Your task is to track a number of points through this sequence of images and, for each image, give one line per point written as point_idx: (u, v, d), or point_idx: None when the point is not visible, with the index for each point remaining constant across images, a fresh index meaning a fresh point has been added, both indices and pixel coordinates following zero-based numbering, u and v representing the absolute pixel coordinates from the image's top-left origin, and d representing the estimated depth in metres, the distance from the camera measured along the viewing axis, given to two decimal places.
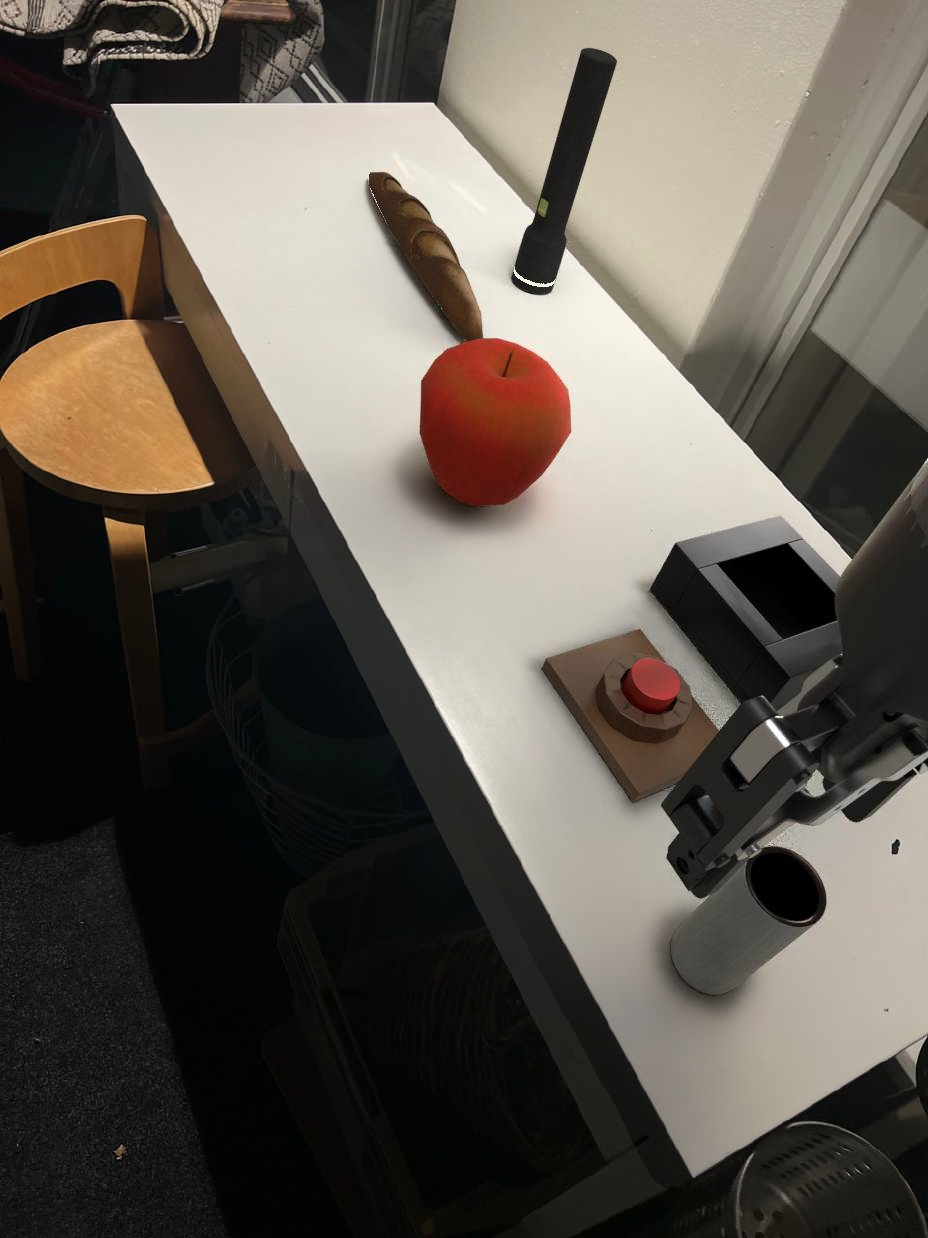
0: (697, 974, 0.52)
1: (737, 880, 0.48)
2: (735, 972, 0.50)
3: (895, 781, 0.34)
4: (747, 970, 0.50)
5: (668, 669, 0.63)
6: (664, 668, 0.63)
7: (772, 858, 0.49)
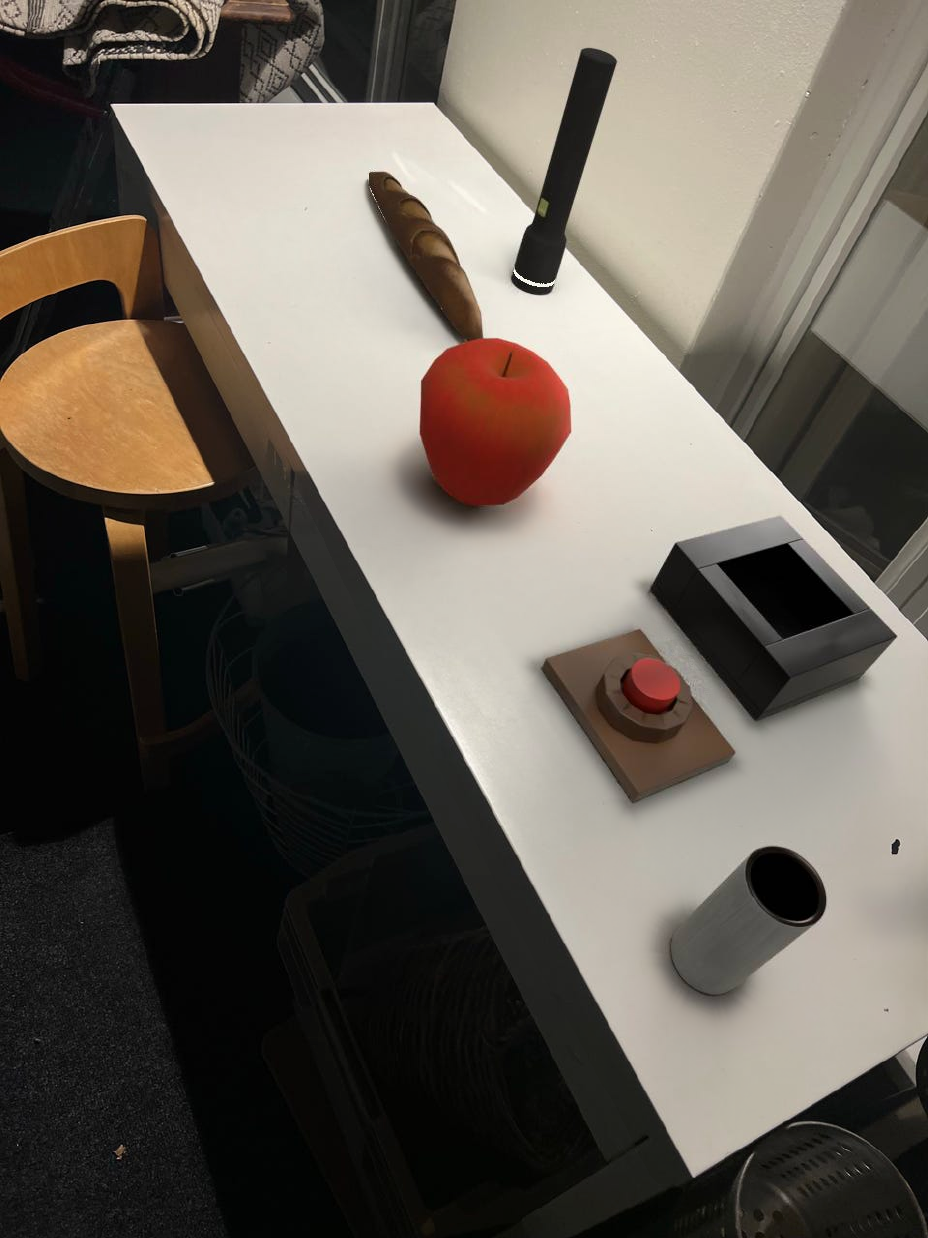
0: (697, 974, 0.52)
1: (737, 880, 0.48)
2: (735, 972, 0.50)
3: None
4: (747, 970, 0.50)
5: (668, 669, 0.63)
6: (664, 668, 0.63)
7: (772, 858, 0.49)
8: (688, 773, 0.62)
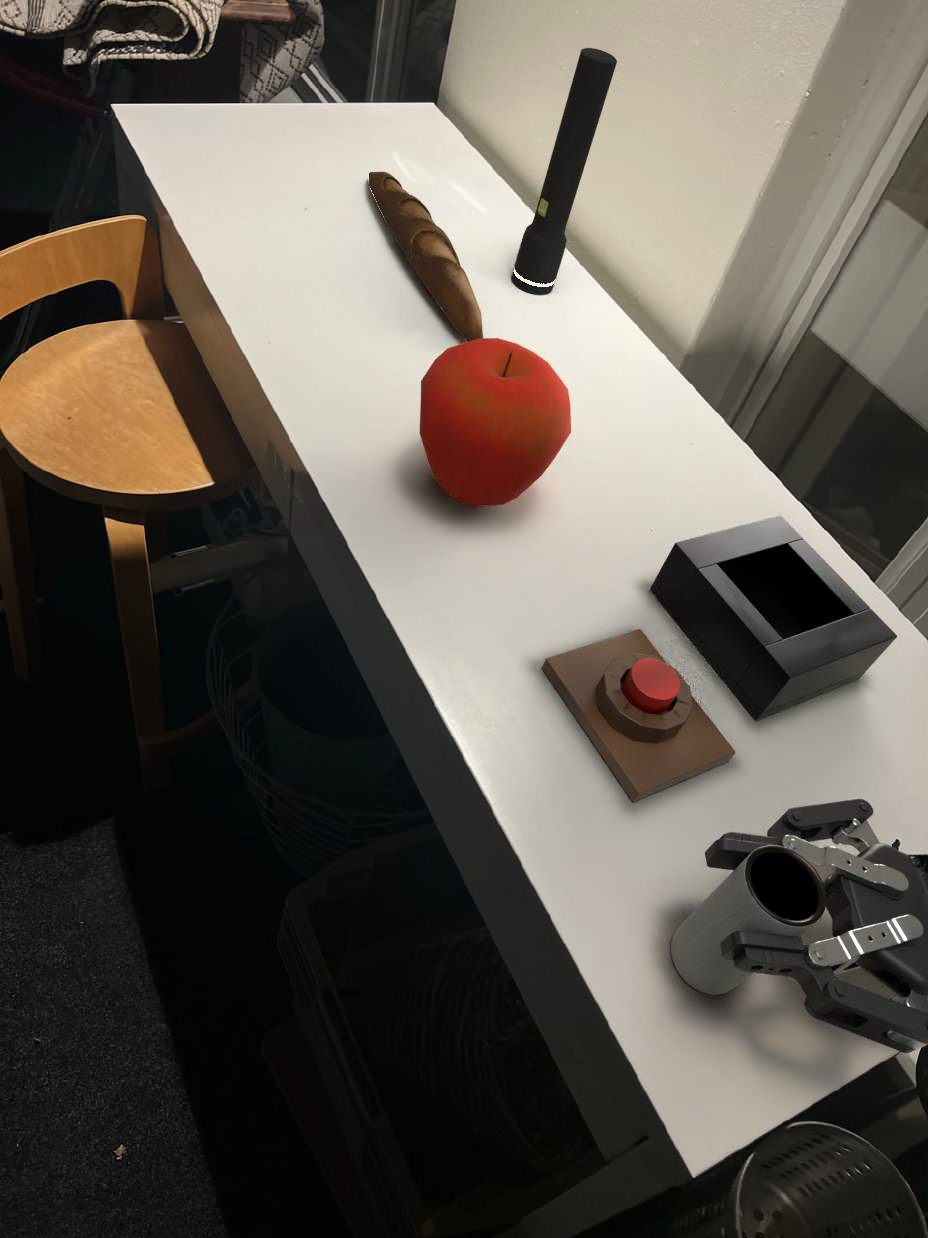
0: (697, 974, 0.52)
1: (737, 880, 0.48)
2: (735, 972, 0.50)
3: None
4: None
5: (668, 669, 0.63)
6: (664, 668, 0.63)
7: (772, 858, 0.49)
8: (688, 773, 0.62)
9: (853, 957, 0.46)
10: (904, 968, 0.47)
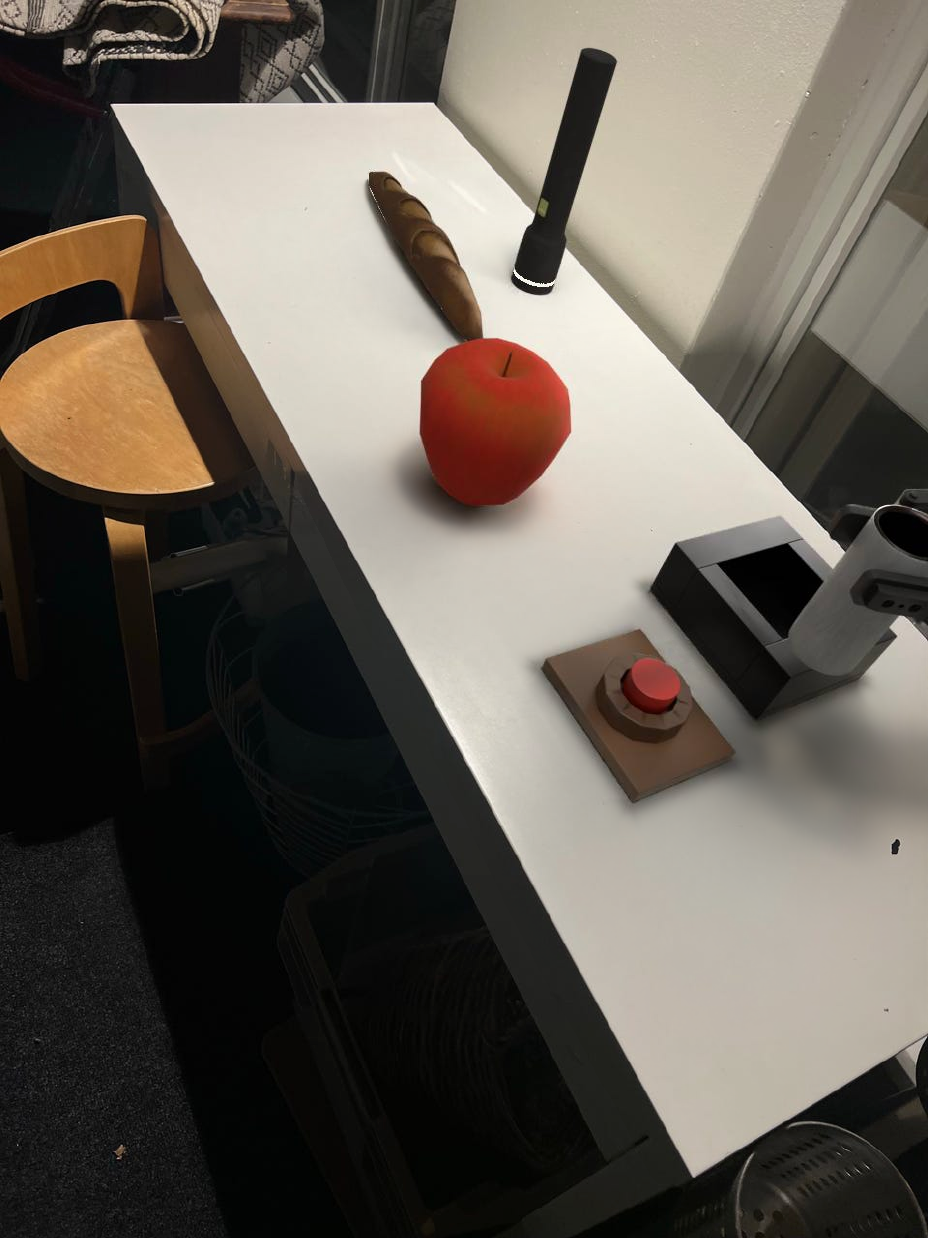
0: (818, 650, 0.55)
1: (865, 532, 0.50)
2: (858, 637, 0.53)
3: None
4: (870, 633, 0.53)
5: (668, 669, 0.63)
6: (664, 668, 0.63)
7: (896, 519, 0.51)
8: (688, 773, 0.62)
9: None
10: None
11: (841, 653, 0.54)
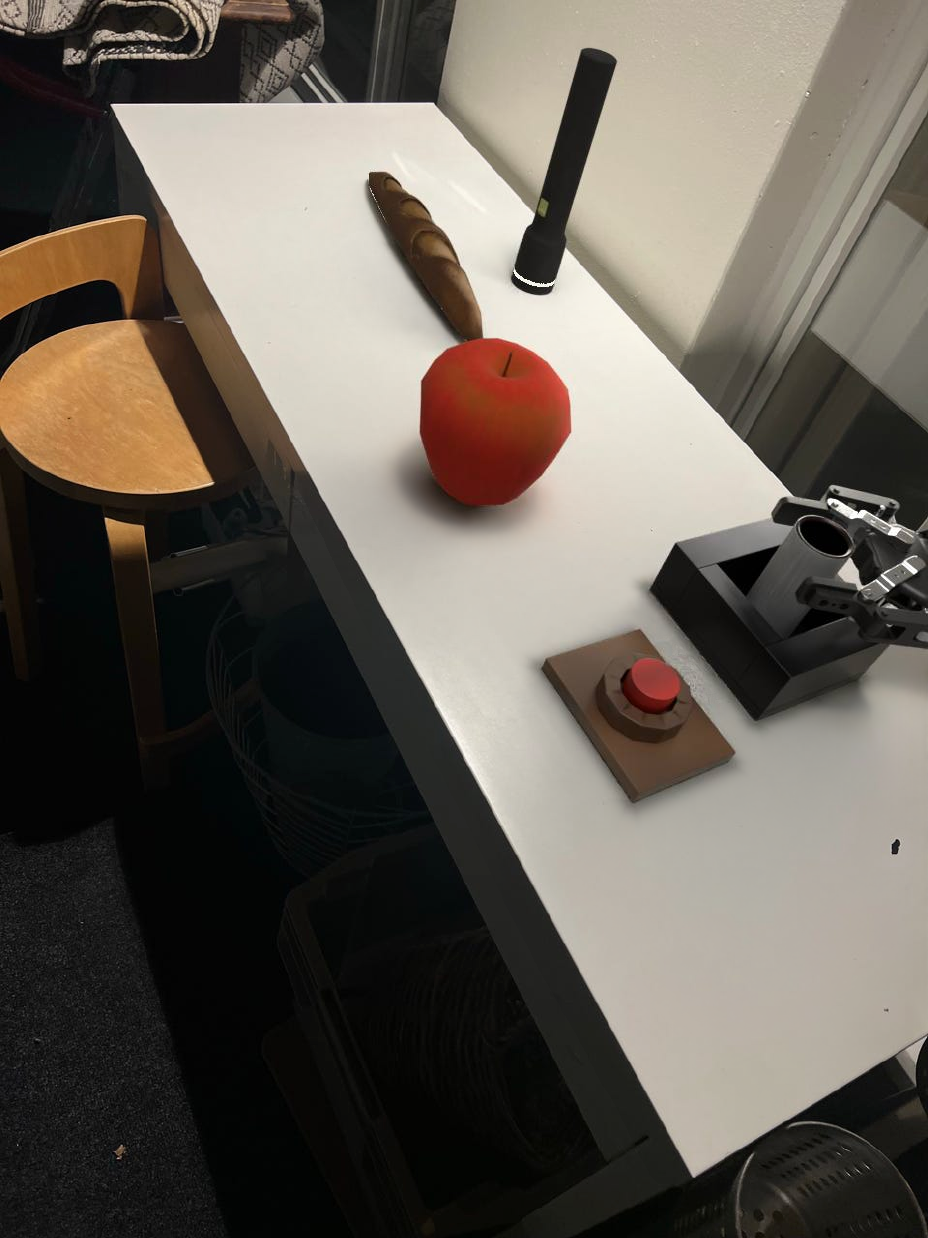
0: None
1: (789, 536, 0.67)
2: (786, 616, 0.69)
3: None
4: (795, 613, 0.69)
5: (668, 669, 0.63)
6: (664, 668, 0.63)
7: (814, 526, 0.68)
8: (688, 773, 0.62)
9: (889, 590, 0.64)
10: (911, 588, 0.65)
11: (774, 628, 0.70)
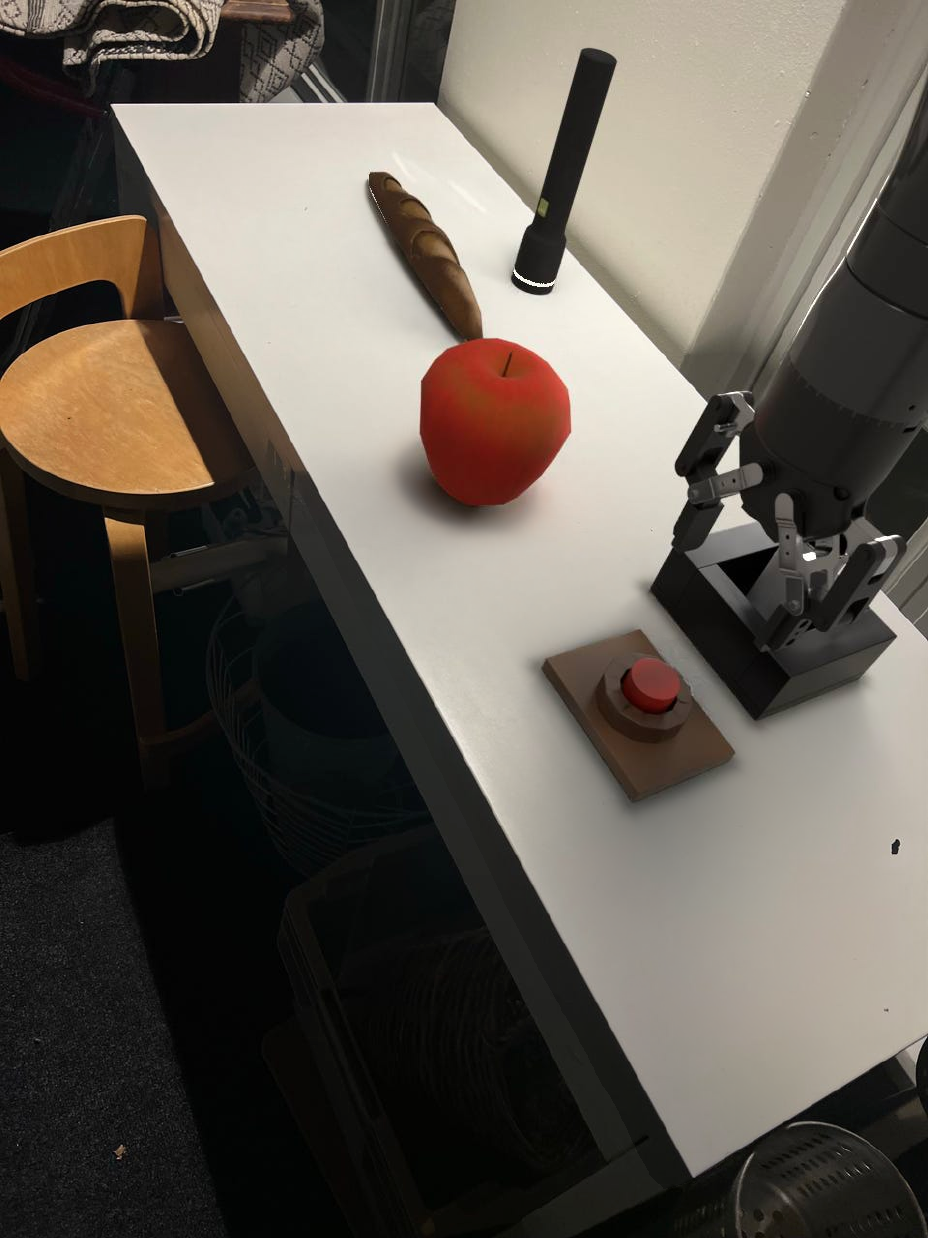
0: None
1: None
2: None
3: None
4: None
5: (668, 669, 0.63)
6: (664, 668, 0.63)
7: None
8: (688, 773, 0.62)
9: (801, 575, 0.49)
10: (814, 534, 0.48)
11: None
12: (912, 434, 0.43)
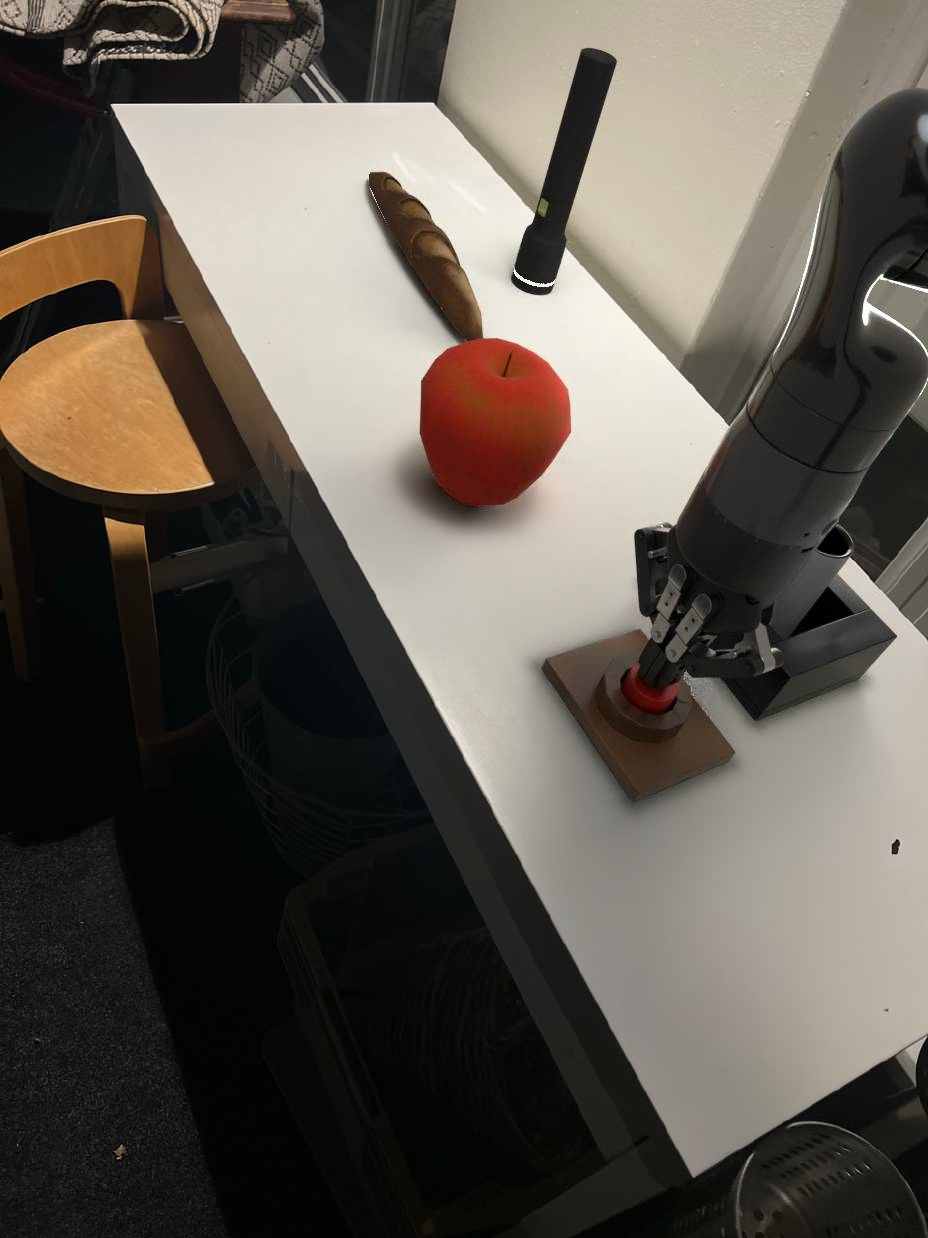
0: None
1: None
2: (786, 616, 0.69)
3: None
4: (795, 613, 0.69)
5: None
6: None
7: None
8: (688, 773, 0.62)
9: (688, 645, 0.57)
10: (730, 630, 0.54)
11: (774, 628, 0.70)
12: (810, 552, 0.49)
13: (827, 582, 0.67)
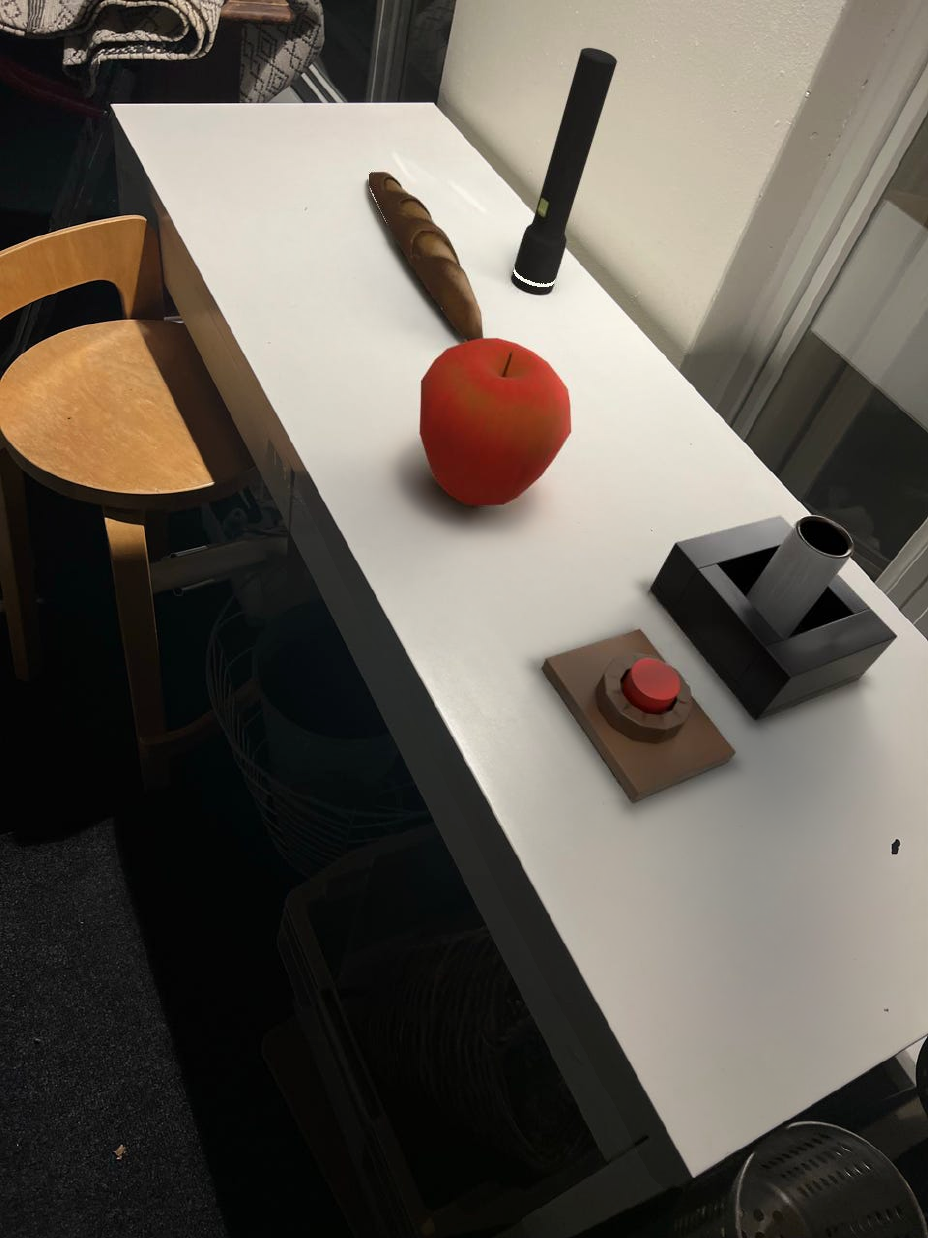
0: None
1: (789, 536, 0.67)
2: (786, 616, 0.69)
3: None
4: (795, 613, 0.69)
5: (668, 669, 0.63)
6: (664, 668, 0.63)
7: (814, 526, 0.68)
8: (688, 773, 0.62)
9: None
10: None
11: (774, 628, 0.70)
12: None
13: (827, 582, 0.67)
